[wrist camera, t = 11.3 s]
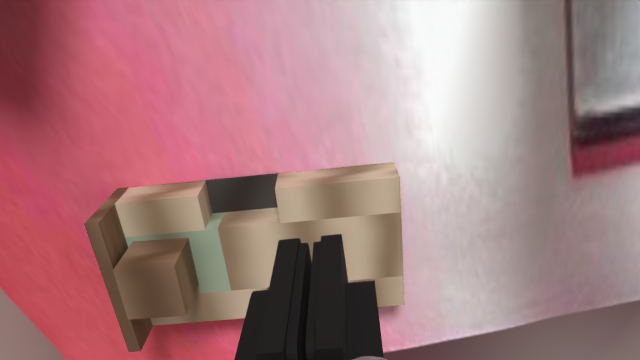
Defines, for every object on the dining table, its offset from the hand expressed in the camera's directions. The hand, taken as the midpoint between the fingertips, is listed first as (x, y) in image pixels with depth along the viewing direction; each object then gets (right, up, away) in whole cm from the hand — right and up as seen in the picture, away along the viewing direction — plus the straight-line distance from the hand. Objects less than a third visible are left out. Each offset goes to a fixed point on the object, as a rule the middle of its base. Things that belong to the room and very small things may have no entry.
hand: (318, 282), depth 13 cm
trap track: (-5, -2, +28) cm, 29 cm away
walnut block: (-13, -4, +26) cm, 29 cm away
